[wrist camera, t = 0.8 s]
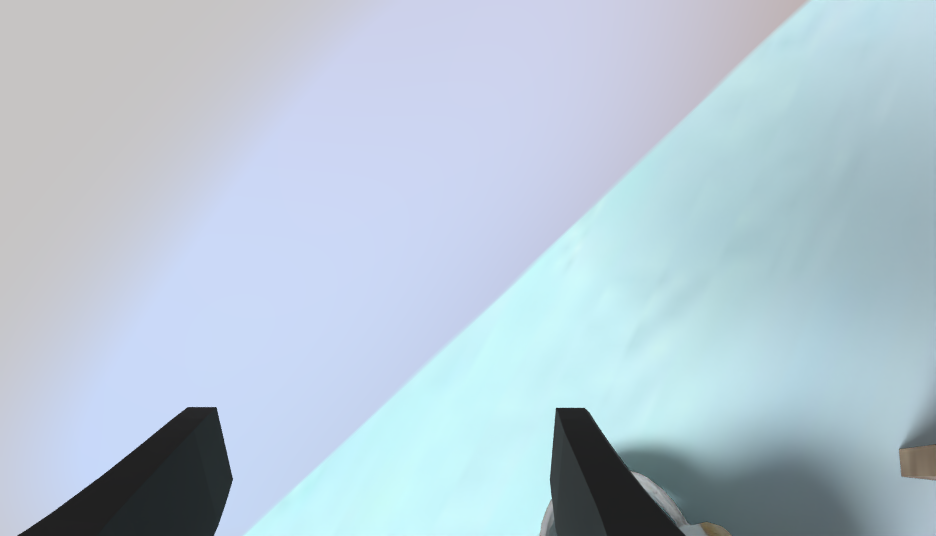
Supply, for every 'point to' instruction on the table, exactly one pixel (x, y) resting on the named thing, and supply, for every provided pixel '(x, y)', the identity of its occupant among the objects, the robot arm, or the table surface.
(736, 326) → the table surface
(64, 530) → the robot arm
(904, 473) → the stepped wooden block
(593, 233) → the table surface
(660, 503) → the ceramic mug
